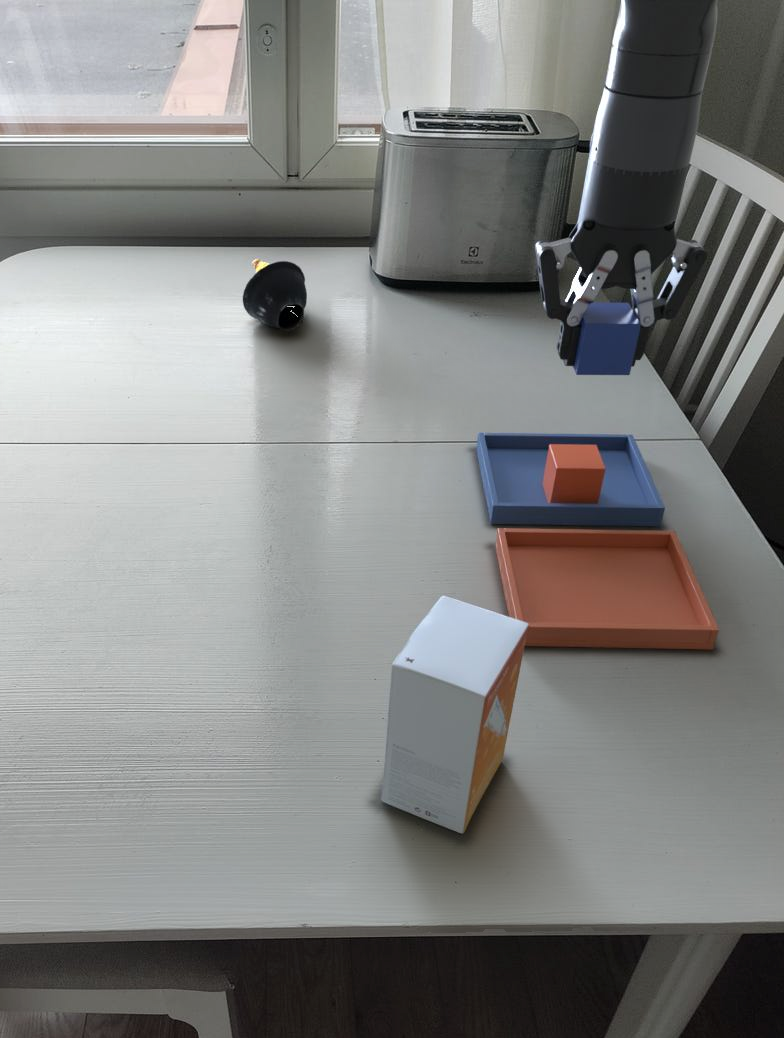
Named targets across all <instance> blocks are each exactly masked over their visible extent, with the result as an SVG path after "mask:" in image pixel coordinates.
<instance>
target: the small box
mask: <svg viewBox="0 0 784 1038" xmlns="http://www.w3.org/2000/svg"><path fill="white" fill-rule="evenodd" d="M528 628H529V624H528V623H526V622H523V621H520V620H517V619H514V618H511V617H509V615H504V614H502V613H498V612H495V611H492V610H489V609H487V608H483V607H480V606H477V605H474V604H471V603H468V602H465V601H462V600H459V599H456V598H452V597H450V596H446V595H442V596H440V597H439V599H438V600H437V601H436V602H435V604H434V605H433V606H432V608H431V609H430V610H429V612H428V613H427V614H426V616H424V618H423V619H422V620H421V621H420V623H419V624H418V626H417V627H416V628H415V629H414V631H413V632H412V633H411V635H410V637H409V638H408V641H407V642H406V644H405V645H404V646H403V648H402V649H401V651H400V652H399V654H398V655H397V656H396V658H395V659H394V660H393V662H392V664H391V672H390V685H389V697H388V709H387V721H386V722H387V723H386V738H385V749H384V750H385V751H384V752H385V753H384V762H383V773H382V774H383V775H382V784H381V797H380V800H381V802H382V803H385V804H387V805H389V806H391V807H393V808H397V809H399V810H401V811H404V812H406V813H409V814H412V815H414V816H416V817H419V818H421V819H423V820H425V821H428V822H430V823H434V824H436V825H438V826H441V827H443V828H446V829H449V830H451V831H453V832H456V833H459V834H465V832H466V830H467V828H468V826H469V823H470V822H471V819H472V817H473V816H474V813H475V811H476V809H477V807H478V805H479V804H480V801H481V800H482V798H483V796H484V794H485V792H486V790H487V788H488V786H489V785H490V783H491V781H492V779H493V777H494V776H495V774H496V773H497V771H498V768H499V767H500V765H501V763H502V762H503V759H504V756H505V755H504V754H505V750H506V743H507V739H508V733H509V728H510V724H511V723H510V722H511V717H512V713H513V709H514V702H515V697H516V694H517V693H516V692H517V688H518V687H517V686H518V681H519V678H520V672H521V666H522V661H523V657H524V652H525V647H526V646H525V642H526V637H527V632H528Z"/></svg>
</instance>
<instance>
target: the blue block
mask: <svg viewBox="0 0 784 1038" xmlns="http://www.w3.org/2000/svg"><path fill="white" fill-rule="evenodd" d="M580 326H581V332H580V337H579V342H578V348H577V353H576V358H575V364H574V366H572V368H573V370H574V373H575V375H577V376H630V375H631V370H632V368H633V367H632V362H633V358H634V353H635V349H636V345H637V340H638V336H639V331H640V327H641V323H640V321H639V320H638V318H637V316H636V315H635V313H634V311H633V307H631V305H630V303H629V302H593V303H591V304H590V305H589V307H588V309H587V310H586V312H585V314H584V316H583V318H582V320H581V322H580Z"/></svg>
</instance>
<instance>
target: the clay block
mask: <svg viewBox="0 0 784 1038" xmlns="http://www.w3.org/2000/svg"><path fill="white" fill-rule="evenodd" d="M605 470H606V469H605V466H604V463H603V461H602V458H601V455H600V453H599V450H598V448H597V445H572V444H550V445H549V450H548V455H547V461H546V467H545V472H544V478H543V488H544V491H545V495H546V498H547V502H548V503H570V504H598V502H599V497H600V492H601V488H602V483H603V479H604V474H605Z"/></svg>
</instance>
